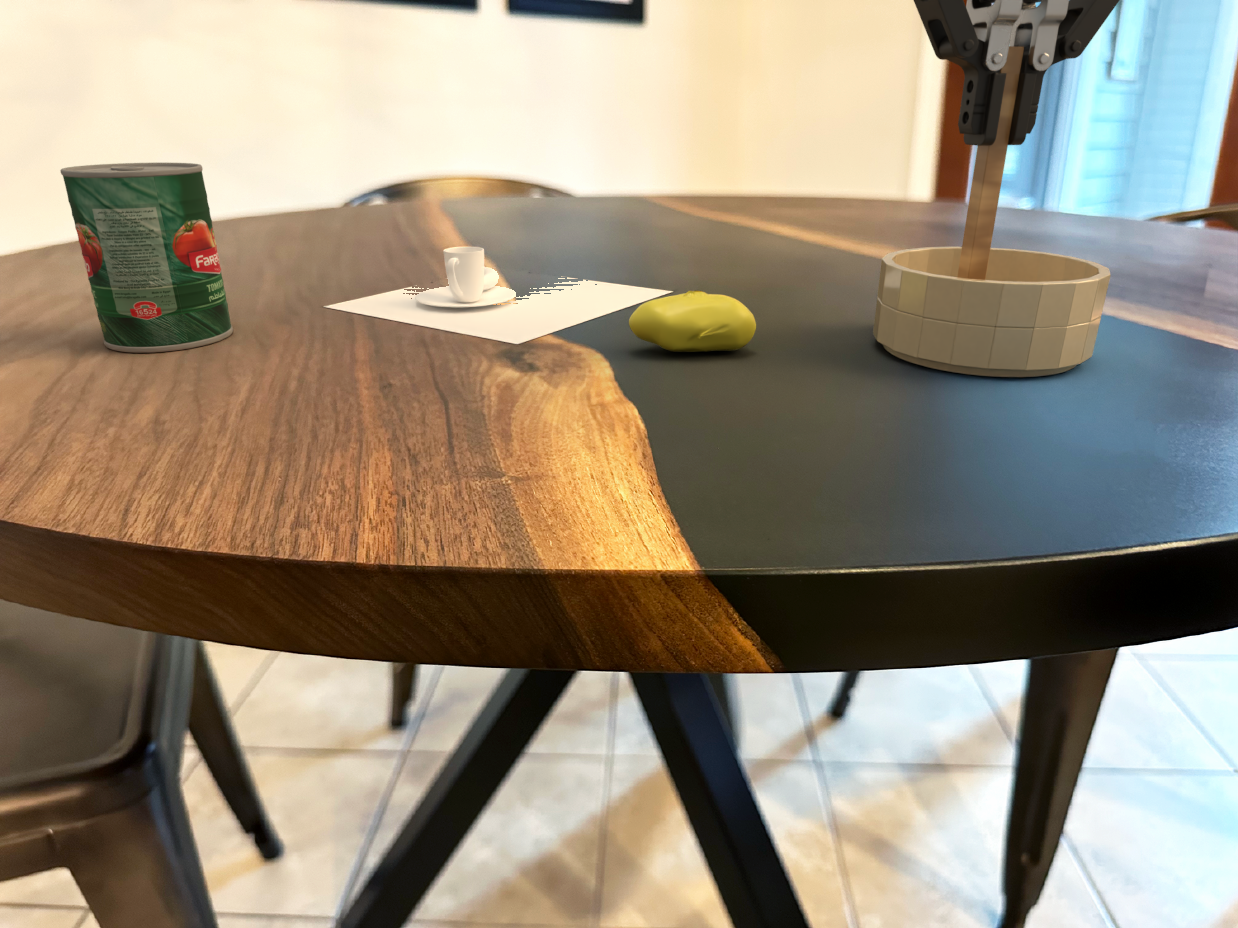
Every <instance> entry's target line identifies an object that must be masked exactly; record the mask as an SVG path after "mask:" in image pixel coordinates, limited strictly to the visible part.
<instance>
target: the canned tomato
mask: <svg viewBox="0 0 1238 928" xmlns="http://www.w3.org/2000/svg"><path fill="white" fill-rule="evenodd" d="M203 169H204V168H203V166H202V165H201V164H200V163H191V162H123V163H121V162H120V163H101V164H85V165H75V166H68V167H63V168H61V169H60V170H59V171H60V175H62V179H63V182H64V186H65V191H66V195H67V200H68V203H69V206H70V210H71V216H72V218H73V221H74V227H75V230H76V234H77V238H78V243H79V246H80V250H81V255H82V258H83V261H84V262H83V263H84V267H85V271H86V273H87V279H88V282H89V285H90V290H91V291H90V292H91V294H92V297H93V302H94V305H95V306H94V307H95V309H96V314H97V318H98V321H99V326H100V328H101V332H102V336H103V344H104V346H105V347H106V348H108V349H109V350H112V351H115V352H123V353H133V354H134V353H135V354H136V353H137V354H146V353H147V354H149V353H163V352H164V353H165V352H175V351H182V350H188V349H194V348H199V347H204V346H207V345H211V344H214V343H217V342H220V341H223V340H225V339H227V338H228V337H230V336H231V335H232V334H233V332H234V328H233V325H232V322H231V315H230V310H229V303H228V301H227V300H228V299H227V295H226V294H227V293H226V290H225V285H224V279H223V274H222V268H221V264H220V256H219V253H218V248H217V247H218V246H217V242H216V238H215V231H214V227H213V220H212V217H211V209H210V205H209V201H208V194H207V190H206V185H205V180H204V176H203Z"/></svg>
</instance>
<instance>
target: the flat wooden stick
mask: <svg viewBox="0 0 1238 928" xmlns="http://www.w3.org/2000/svg"><path fill="white" fill-rule="evenodd" d="M1023 51H1024V47H1023V46H1009V50H1008V56H1007V61H1006V63H1005V65H1004V66H1003V68H1002V69H1000V72H999V73H1007V74H1006V80H1005V86H1004V92H1003V99H1002V105H1001V111H1000V117H999V123H998V129H997V136H996V140H995V142H994V143H993V144H992V145H988V146H977V145H976V147H977V148H976V152H975V153H976V154H975V159H974V166H973V171H972V172H973V173H972V178H971V187H970V191H969V192H970V193H969V198H968V205H967V212H966V219H965V224H964V230H963V238H962V244H961V247H962V250H961V256H960V263H959V269H958V276H957V277H959V278H966V279H979V280H985V278H986V272H987V266H988V260H989V254H990V248H992V241H993V235H994V229H995V224H996V219H997V212H998V207H999V200H1000V194H1001V186H1002V182H1003V175H1004V171H1005V163H1006V158H1007V154H1008V153H1007V152H1008V148H1009V147H1008V146H1009V145H1008V141H1009V135H1010V129H1011V123H1012V117H1013V111H1014V105H1015V99H1016V93H1017V87H1018V81H1019V75H1020V69H1021V63H1022V57H1023Z"/></svg>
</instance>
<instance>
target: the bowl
mask: <svg viewBox="0 0 1238 928" xmlns="http://www.w3.org/2000/svg"><path fill="white" fill-rule="evenodd" d="M961 250H962V246H928V247H916V248H907V249H900V250H895V251H891V252H888V253H886V254H885V255H884V256H883V257H882V258H881V262H880V272H879V279H878V287H877V294H876V295H877V297H876V305H875V313H874V321H873V329H872V334H873V336H874V338H875V340H876V342H878V343H880V344H881V345H882V347H883V349H884V350H885V351H886V352H887V353H889V354H891V355H892V356H894V357H896V358H898V359H900V360H903V361H905V362H908V363H911V364H915V365H918V366H922V367H925V368H930V369H934V370H939V371H942V372H943V371H945V372H949V373H955V374H962V375H970V376H971V375H972V376H979V377H993V378H994V377H996V378H1033V377H1045V376H1046V377H1047V376H1051V375H1057V374H1061V373H1065V372H1068V371H1070V370H1072V369H1074V368H1076V367H1077V365H1081V364H1083V363H1084V362H1086V361H1087V360H1089V359H1090V358H1092V357H1093V354H1094V350H1095V345H1096V341H1097V337H1098V332H1099V328H1100V323H1101V320H1102V315H1103V312H1104V306H1105V302H1106V298H1107V293H1108V288H1109V285H1110V280H1111V277H1112V276H1111V271H1110V269H1109V267H1106V266H1104V265H1102V264H1100V263H1098V262H1096V261H1092V260H1087V259H1085V258H1079V257H1075V256H1071V255H1064V254H1058V253H1052V252H1045V251H1036V250H1027V249H1018V248H1015V249H1014V248H1002V247H991V248H990V254H989V260H988V266H987V272H986V278H985V280H979V279H966V278H959V277H957V276H958V269H959V263H960V256H961Z"/></svg>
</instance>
